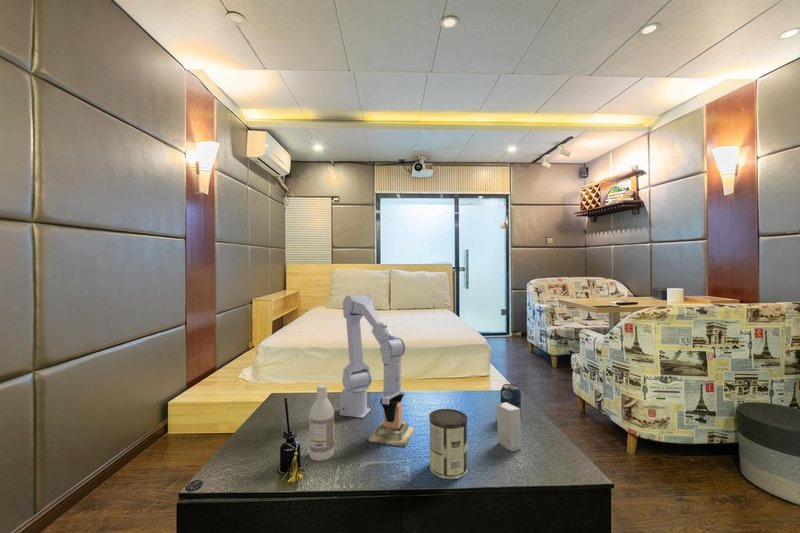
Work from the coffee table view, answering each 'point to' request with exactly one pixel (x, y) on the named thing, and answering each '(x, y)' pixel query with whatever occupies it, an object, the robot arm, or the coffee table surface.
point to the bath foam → (321, 427)
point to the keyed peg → (397, 419)
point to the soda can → (511, 395)
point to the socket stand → (392, 434)
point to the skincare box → (509, 426)
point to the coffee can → (448, 443)
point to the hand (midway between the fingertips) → (392, 418)
